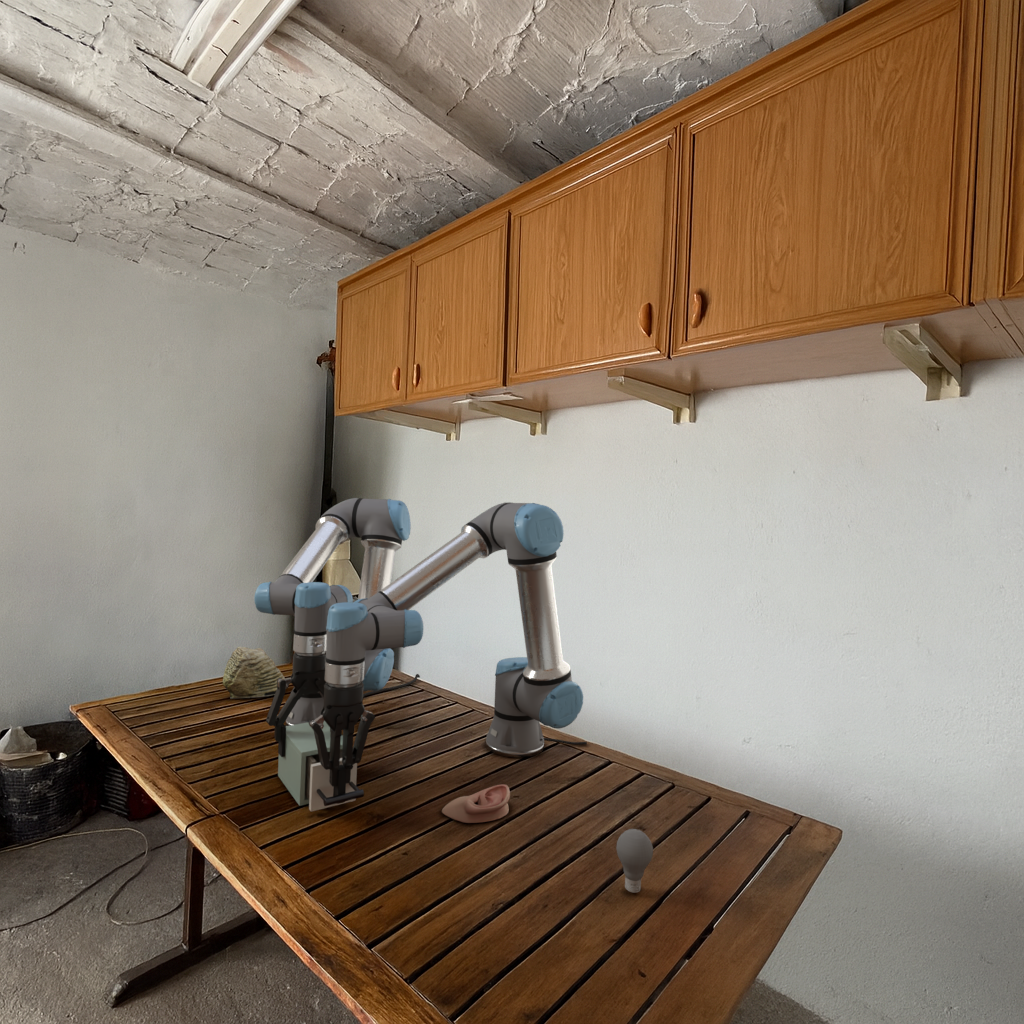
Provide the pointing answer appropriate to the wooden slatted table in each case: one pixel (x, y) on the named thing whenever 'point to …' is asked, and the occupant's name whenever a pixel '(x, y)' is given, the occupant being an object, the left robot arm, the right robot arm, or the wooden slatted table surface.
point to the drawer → (327, 785)
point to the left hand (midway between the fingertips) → (307, 749)
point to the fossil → (251, 674)
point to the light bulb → (634, 857)
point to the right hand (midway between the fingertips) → (339, 800)
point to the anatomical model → (480, 805)
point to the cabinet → (299, 757)
